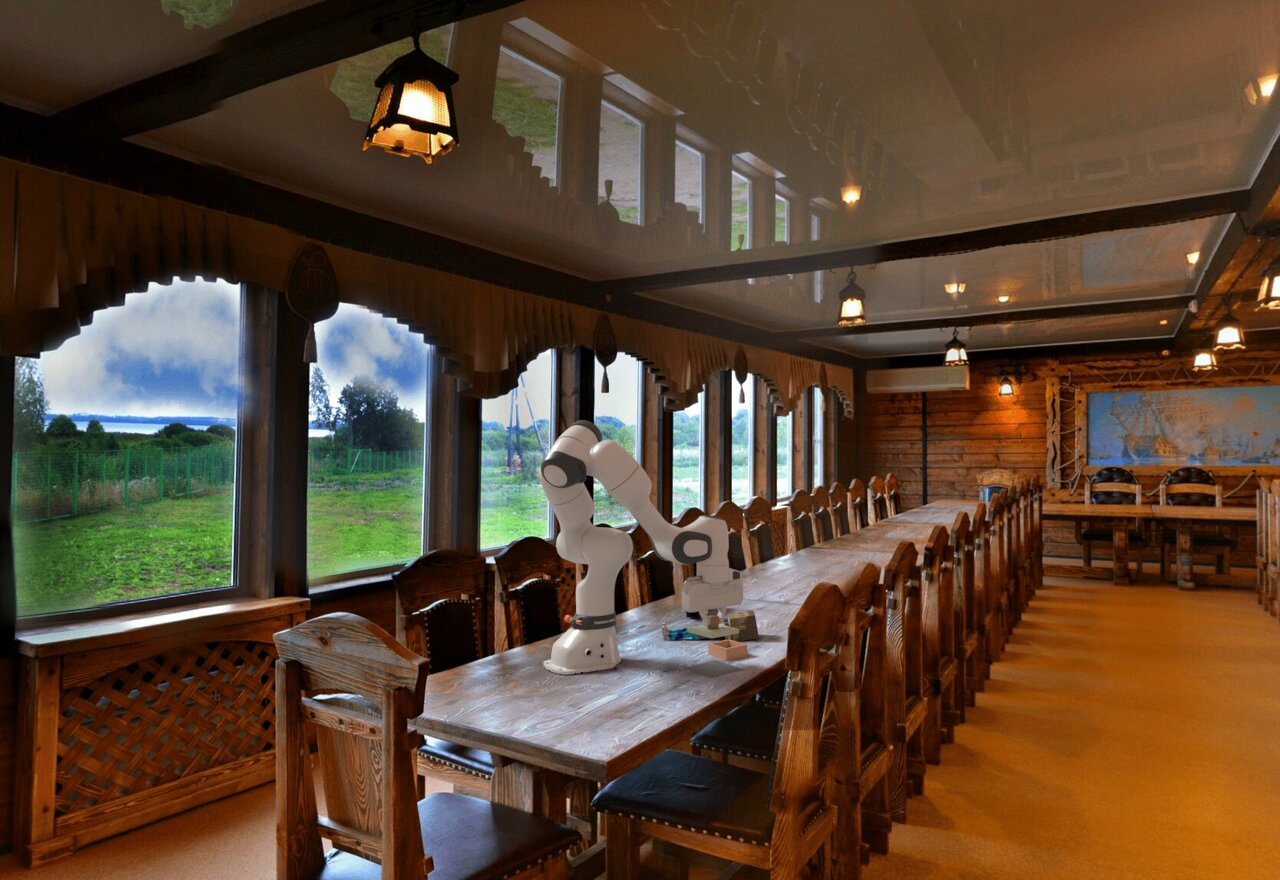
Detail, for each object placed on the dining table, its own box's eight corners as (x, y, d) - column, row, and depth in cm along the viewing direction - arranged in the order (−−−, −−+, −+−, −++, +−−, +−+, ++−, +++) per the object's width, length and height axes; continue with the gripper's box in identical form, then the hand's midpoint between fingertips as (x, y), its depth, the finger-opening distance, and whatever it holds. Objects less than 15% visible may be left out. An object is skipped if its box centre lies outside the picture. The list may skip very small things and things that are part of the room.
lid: (711, 638, 204) (711, 621, 204) (687, 631, 212) (687, 615, 212) (738, 633, 210) (738, 617, 210) (713, 627, 218) (713, 611, 218)
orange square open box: (726, 663, 218) (726, 649, 218) (708, 657, 224) (708, 643, 224) (747, 658, 222) (747, 644, 222) (729, 652, 229) (728, 639, 229)
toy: (663, 616, 262) (751, 603, 260) (667, 638, 262) (754, 625, 259) (660, 634, 235) (757, 620, 233) (664, 659, 235) (761, 645, 233)
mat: (711, 680, 201) (711, 677, 201) (683, 670, 211) (683, 667, 211) (745, 672, 208) (745, 669, 208) (716, 663, 218) (716, 660, 218)
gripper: (691, 579, 203) (691, 631, 202) (746, 572, 215) (747, 621, 215) (676, 576, 208) (676, 627, 207) (731, 569, 220) (731, 618, 220)
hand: (712, 624), depth 211 cm, fingers closed on lid, 3 cm apart
